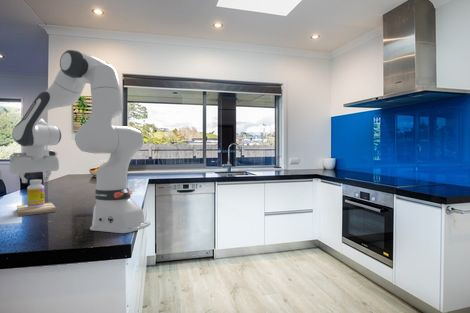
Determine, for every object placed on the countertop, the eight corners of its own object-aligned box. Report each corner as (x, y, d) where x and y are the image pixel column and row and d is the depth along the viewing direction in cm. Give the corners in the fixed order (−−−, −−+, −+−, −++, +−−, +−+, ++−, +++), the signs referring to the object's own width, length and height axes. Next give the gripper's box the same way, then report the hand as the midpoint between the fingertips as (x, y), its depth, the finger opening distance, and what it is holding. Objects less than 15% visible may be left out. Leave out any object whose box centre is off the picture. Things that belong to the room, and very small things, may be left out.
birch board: (55, 211, 131) (55, 207, 131) (18, 216, 122) (18, 211, 122) (51, 206, 143) (51, 202, 143) (17, 210, 134) (17, 205, 134)
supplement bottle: (42, 207, 130) (42, 180, 130) (25, 208, 128) (25, 181, 128) (46, 204, 137) (45, 179, 136) (30, 205, 134) (29, 179, 134)
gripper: (13, 152, 121) (14, 184, 121) (60, 152, 139) (61, 179, 140) (5, 152, 124) (6, 183, 124) (52, 152, 142) (53, 179, 142)
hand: (35, 181), depth 132 cm, fingers open, 8 cm apart
